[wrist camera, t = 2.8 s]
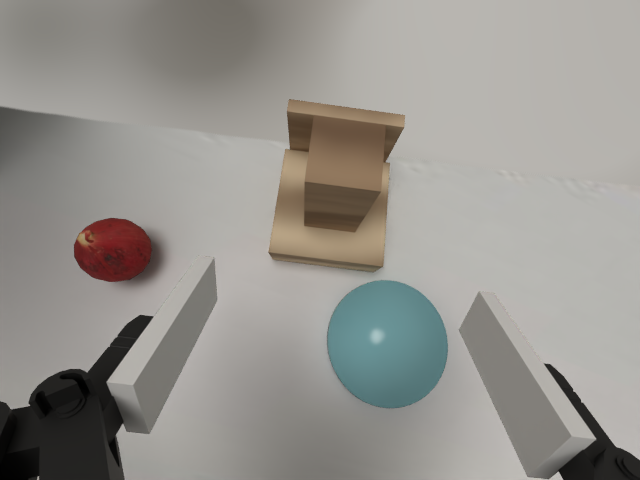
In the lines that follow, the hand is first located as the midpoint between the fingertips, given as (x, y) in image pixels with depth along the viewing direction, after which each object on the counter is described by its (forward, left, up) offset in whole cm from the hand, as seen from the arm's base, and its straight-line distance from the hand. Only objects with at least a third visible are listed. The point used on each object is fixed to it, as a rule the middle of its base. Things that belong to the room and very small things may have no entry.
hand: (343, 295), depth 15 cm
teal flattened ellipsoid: (+7, +2, -16) cm, 18 cm away
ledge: (-6, +8, -16) cm, 19 cm away
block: (-6, +8, -12) cm, 16 cm away
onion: (-18, -9, -17) cm, 26 cm away
